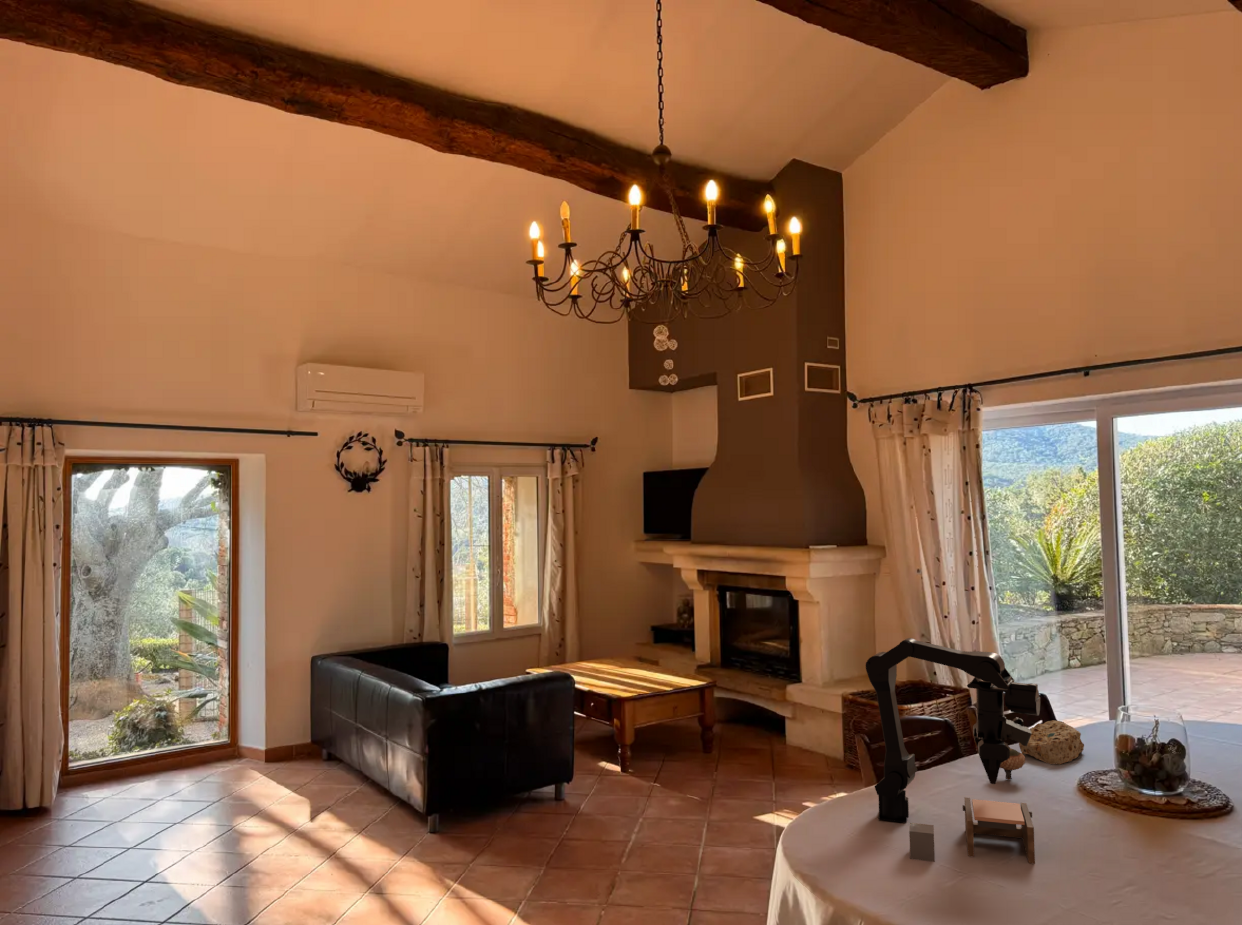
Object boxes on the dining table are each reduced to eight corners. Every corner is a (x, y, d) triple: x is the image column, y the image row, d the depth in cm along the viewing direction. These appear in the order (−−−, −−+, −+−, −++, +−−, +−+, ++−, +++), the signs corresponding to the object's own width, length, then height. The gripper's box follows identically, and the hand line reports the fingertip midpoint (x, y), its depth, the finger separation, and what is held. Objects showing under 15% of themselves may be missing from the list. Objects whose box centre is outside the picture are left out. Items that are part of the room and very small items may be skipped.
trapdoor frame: (965, 855, 188) (964, 820, 189) (962, 829, 203) (961, 797, 203) (1038, 864, 184) (1036, 827, 184) (1030, 836, 198) (1029, 803, 198)
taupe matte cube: (910, 859, 188) (909, 831, 188) (910, 849, 192) (909, 822, 192) (934, 861, 186) (933, 833, 186) (934, 852, 191) (933, 825, 191)
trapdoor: (975, 840, 190) (974, 816, 190) (972, 821, 200) (972, 799, 200) (1025, 845, 186) (1024, 821, 186) (1020, 826, 197) (1019, 803, 197)
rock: (1068, 771, 245) (1057, 736, 247) (1019, 772, 256) (1008, 738, 257) (1095, 748, 259) (1084, 714, 260) (1048, 749, 270) (1037, 717, 271)
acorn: (1027, 777, 238) (1026, 740, 238) (1024, 786, 231) (1022, 748, 231) (995, 773, 242) (993, 736, 242) (990, 781, 235) (989, 744, 235)
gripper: (1034, 722, 188) (1035, 794, 187) (1022, 701, 206) (1023, 767, 205) (979, 718, 191) (980, 789, 191) (972, 698, 209) (973, 763, 209)
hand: (991, 777), depth 199 cm, fingers open, 9 cm apart
